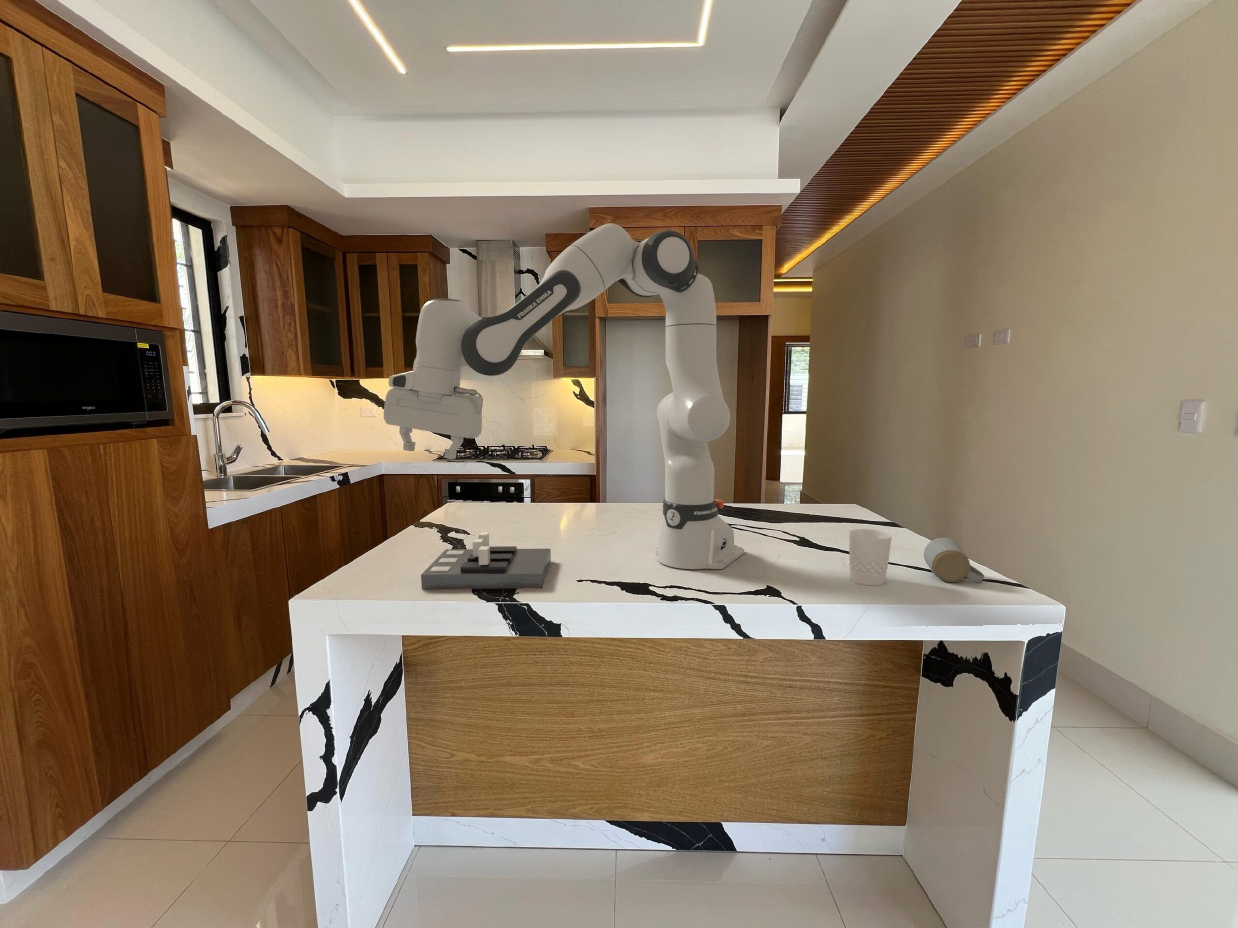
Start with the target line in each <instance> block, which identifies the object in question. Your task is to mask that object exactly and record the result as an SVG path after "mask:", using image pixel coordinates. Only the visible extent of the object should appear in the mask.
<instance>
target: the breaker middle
mask: <svg viewBox="0 0 1238 928" xmlns="http://www.w3.org/2000/svg"><path fill="white" fill-rule="evenodd" d="M481 546H484V542H483V539H479V538H475V539H473V541H472V549H473V557H479V552H478V550H479V548H480V547H481Z"/></svg>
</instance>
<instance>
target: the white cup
mask: <svg viewBox="0 0 1238 928" xmlns="http://www.w3.org/2000/svg"><path fill="white" fill-rule="evenodd" d="M892 538H893V537H892V534H890V533H888V532H886V531H882V530H878V529H871V528H856V529H855V528H854V529H852V530H849V545H848V546H849V547H848V548H849V550H848V552H849V557H848V558H849V579H850V580H851V581H852V582H854V583H857V584H859V585H864V586H871V587H872V586H874V587H876V586H882V585H884V584H885V583H886V579H887V571H888V566H889V560H890V552H891V545H892Z"/></svg>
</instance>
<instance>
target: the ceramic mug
mask: <svg viewBox="0 0 1238 928" xmlns="http://www.w3.org/2000/svg"><path fill="white" fill-rule="evenodd" d="M923 558H924V561H925V563H926V565H927V567H928V568H929V569H930V571H931V572H932V574H933V575H934V576H935V577H936V578H938V579H939V580H941V581H944V582H945V583H946V582H948V583H956V582H960V581H962V580H964V579H965V578H966V579H969V580H971V581H973V582H975V583H978V584H979V583H982V582H983V580H984V579H985V575H984V574H983V572H982V571H980V570H979V569H977V568H976V567H975V566H973V565H971V563H970V560H969V557H968V555H967V554H966V553H965V551H964V549H963V548H962V546H961V544H960V543H958V542H957V541H955V540H954V539H952V538H947V537H939V538H938V537H937V538H935V539H933V540H930V541H929V542H928V543H927V544H926V546H925V547H924V550H923Z"/></svg>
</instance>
